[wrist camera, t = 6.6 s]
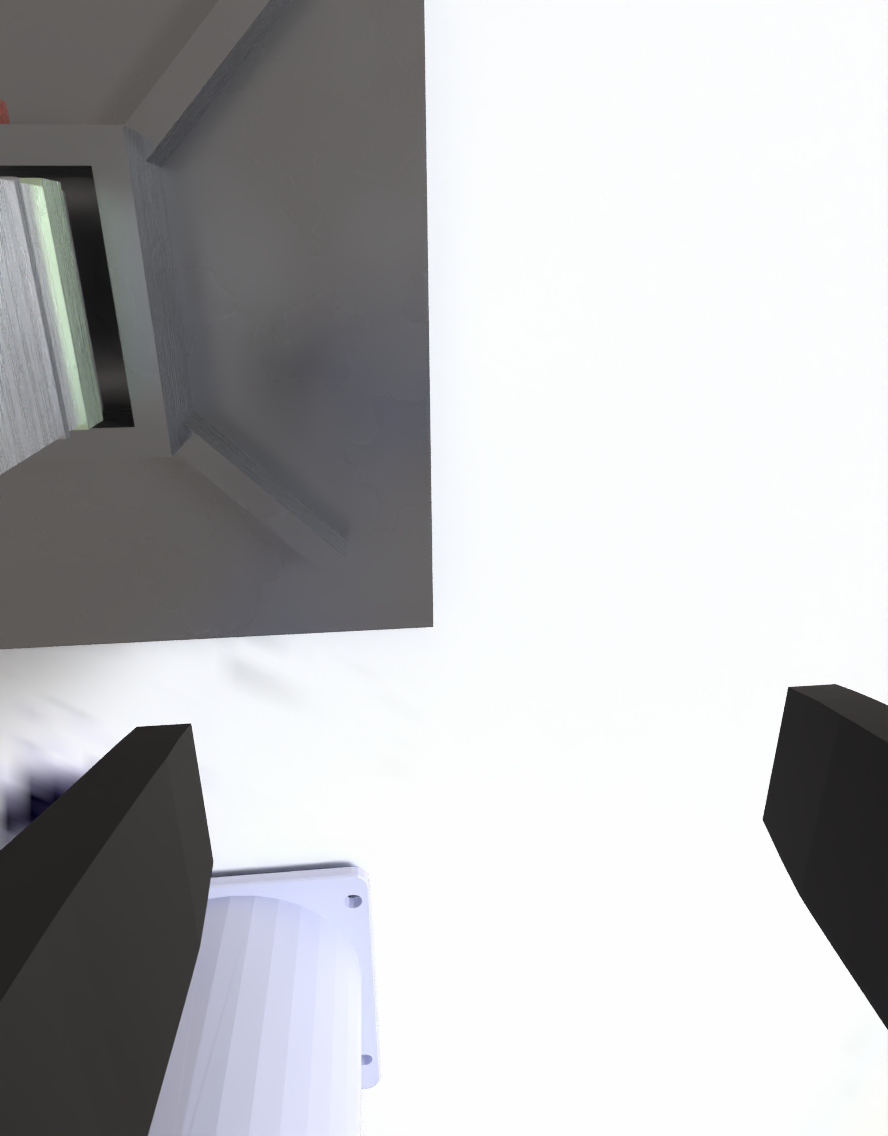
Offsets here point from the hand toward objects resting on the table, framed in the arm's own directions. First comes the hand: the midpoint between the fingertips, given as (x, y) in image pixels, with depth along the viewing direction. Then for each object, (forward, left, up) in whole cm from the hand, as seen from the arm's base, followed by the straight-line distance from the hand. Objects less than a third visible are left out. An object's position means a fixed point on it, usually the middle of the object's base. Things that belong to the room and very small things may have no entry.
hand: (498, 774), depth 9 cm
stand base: (+5, +8, -10) cm, 14 cm away
